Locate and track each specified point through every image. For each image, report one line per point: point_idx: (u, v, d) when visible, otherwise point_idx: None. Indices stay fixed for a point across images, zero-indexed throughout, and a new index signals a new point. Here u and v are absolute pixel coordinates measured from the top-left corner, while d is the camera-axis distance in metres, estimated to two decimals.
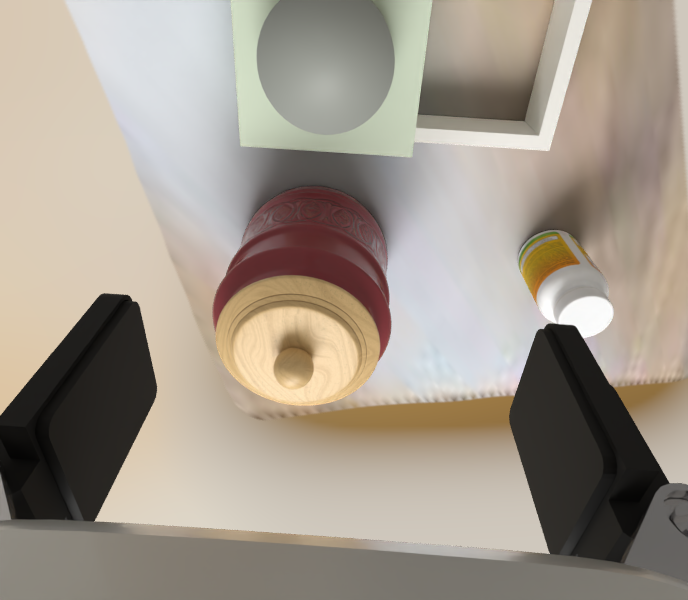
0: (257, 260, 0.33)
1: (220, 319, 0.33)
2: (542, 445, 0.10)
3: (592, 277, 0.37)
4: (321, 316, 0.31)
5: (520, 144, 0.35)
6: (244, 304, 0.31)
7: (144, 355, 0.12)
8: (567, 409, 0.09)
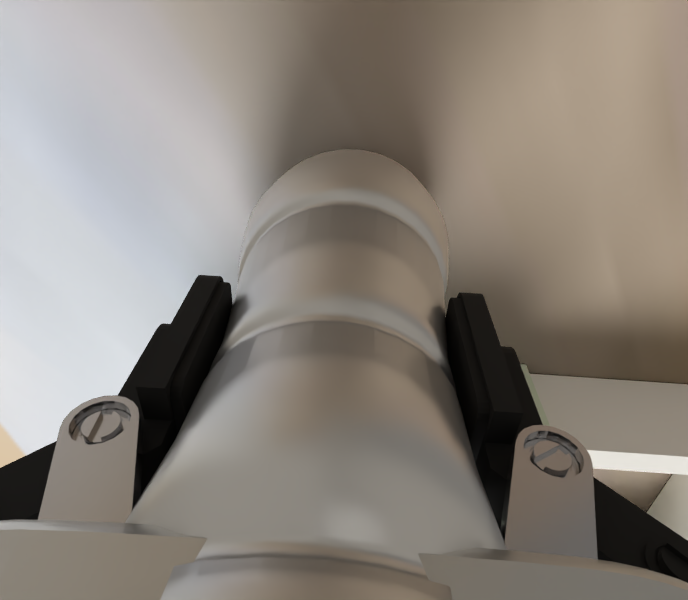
0: None
1: None
2: None
3: None
4: None
5: None
6: None
7: None
8: (462, 366, 0.10)
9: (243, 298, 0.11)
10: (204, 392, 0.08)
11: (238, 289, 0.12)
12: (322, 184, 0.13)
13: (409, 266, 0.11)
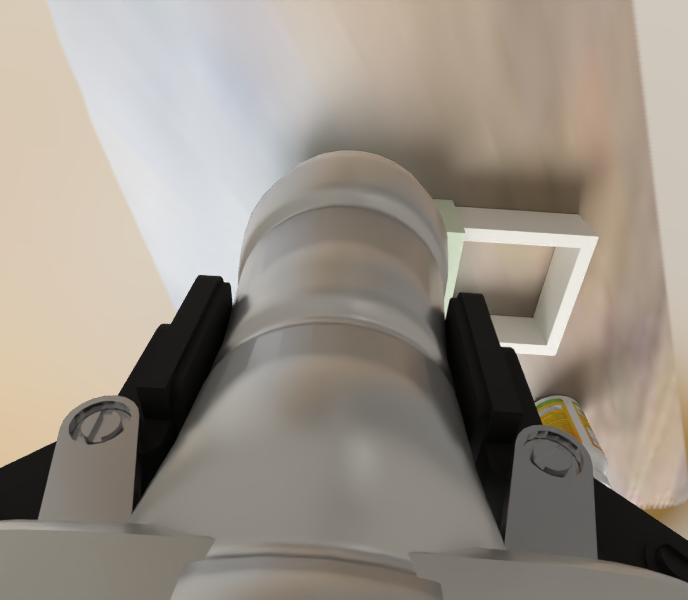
0: None
1: None
2: None
3: (593, 458, 0.43)
4: None
5: (530, 351, 0.41)
6: None
7: None
8: (461, 366, 0.10)
9: (243, 299, 0.11)
10: (205, 393, 0.08)
11: (238, 290, 0.12)
12: (322, 185, 0.13)
13: (409, 267, 0.11)
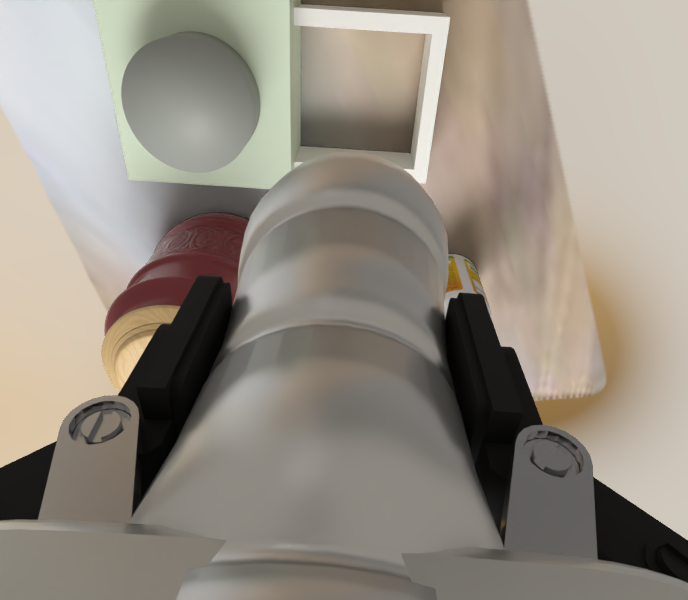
0: (138, 289, 0.34)
1: (103, 346, 0.35)
2: None
3: None
4: None
5: None
6: (122, 332, 0.33)
7: None
8: (462, 366, 0.10)
9: (243, 301, 0.11)
10: (204, 396, 0.08)
11: (238, 292, 0.12)
12: (322, 187, 0.13)
13: (409, 269, 0.11)
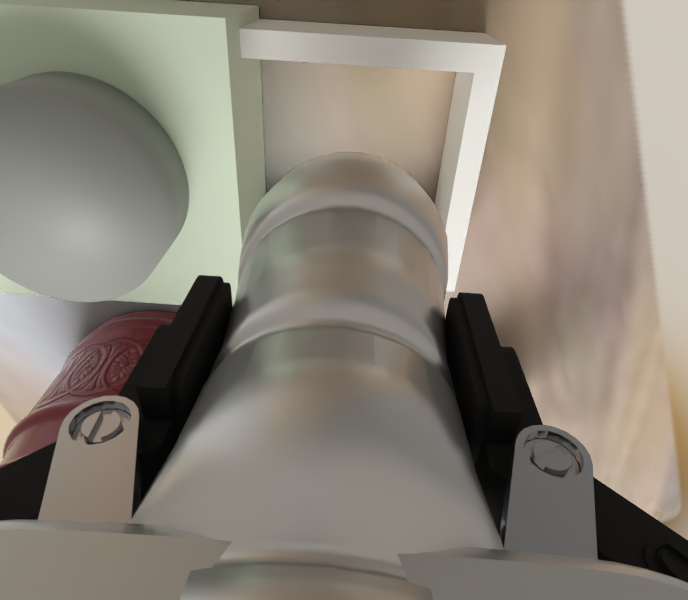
0: None
1: None
2: None
3: None
4: None
5: None
6: None
7: None
8: (461, 366, 0.10)
9: (243, 302, 0.11)
10: (204, 397, 0.08)
11: (238, 292, 0.12)
12: (322, 187, 0.13)
13: (409, 270, 0.11)
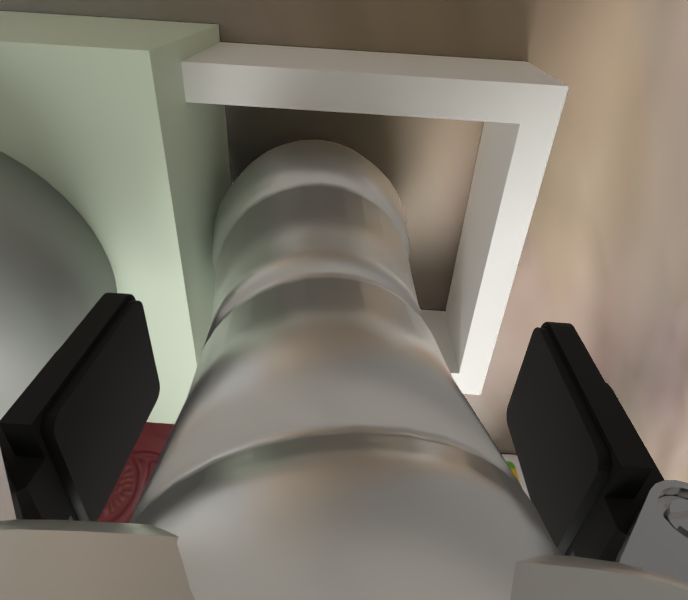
0: None
1: None
2: (538, 443, 0.10)
3: None
4: None
5: None
6: None
7: (147, 354, 0.12)
8: (563, 407, 0.09)
9: (229, 274, 0.12)
10: (210, 350, 0.09)
11: (220, 270, 0.13)
12: (289, 169, 0.14)
13: (378, 234, 0.12)
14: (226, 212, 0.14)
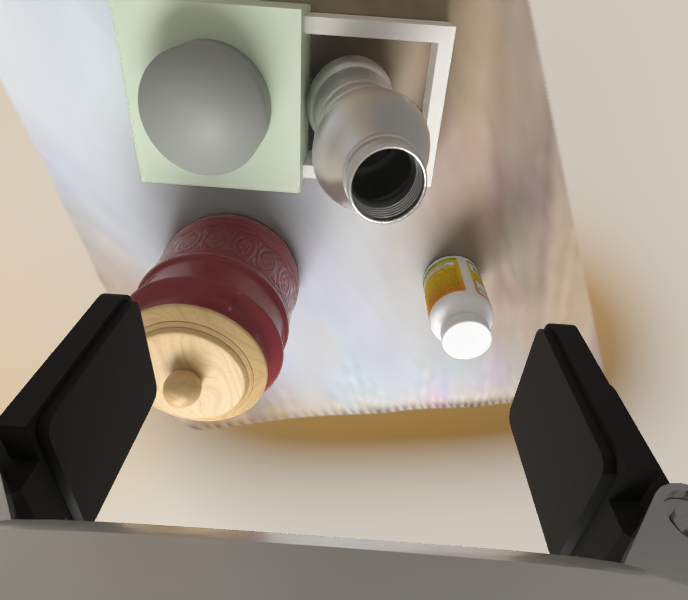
0: (151, 288, 0.35)
1: None
2: (542, 445, 0.10)
3: (475, 303, 0.40)
4: (204, 341, 0.34)
5: None
6: None
7: (144, 355, 0.12)
8: (567, 409, 0.09)
9: (326, 93, 0.31)
10: (329, 101, 0.29)
11: (320, 97, 0.32)
12: (345, 62, 0.34)
13: (381, 81, 0.32)
14: (317, 82, 0.34)
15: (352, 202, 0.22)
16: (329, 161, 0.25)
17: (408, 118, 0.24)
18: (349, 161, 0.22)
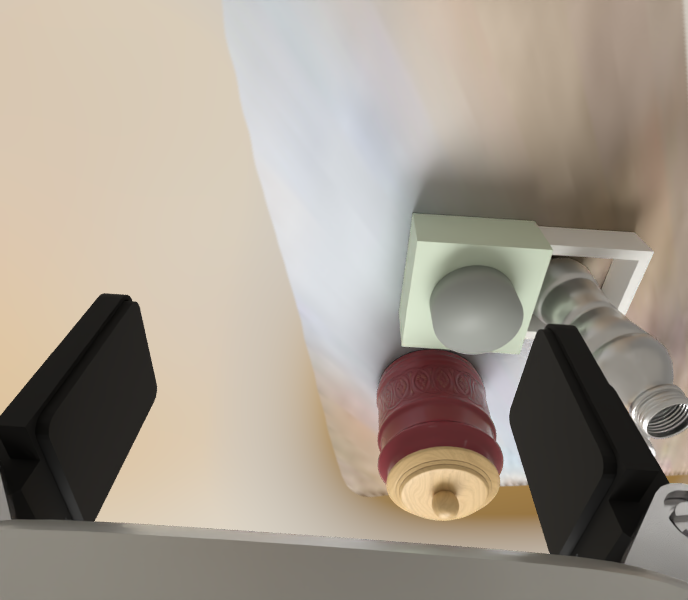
0: (419, 431, 0.48)
1: (393, 470, 0.49)
2: (542, 445, 0.10)
3: (640, 427, 0.53)
4: (468, 474, 0.47)
5: None
6: (414, 464, 0.47)
7: (144, 355, 0.12)
8: (567, 409, 0.09)
9: (567, 305, 0.44)
10: (583, 323, 0.42)
11: (556, 303, 0.45)
12: (568, 272, 0.47)
13: (603, 293, 0.45)
14: (546, 284, 0.47)
15: (646, 429, 0.35)
16: None
17: (667, 363, 0.37)
18: (642, 402, 0.35)
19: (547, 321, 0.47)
